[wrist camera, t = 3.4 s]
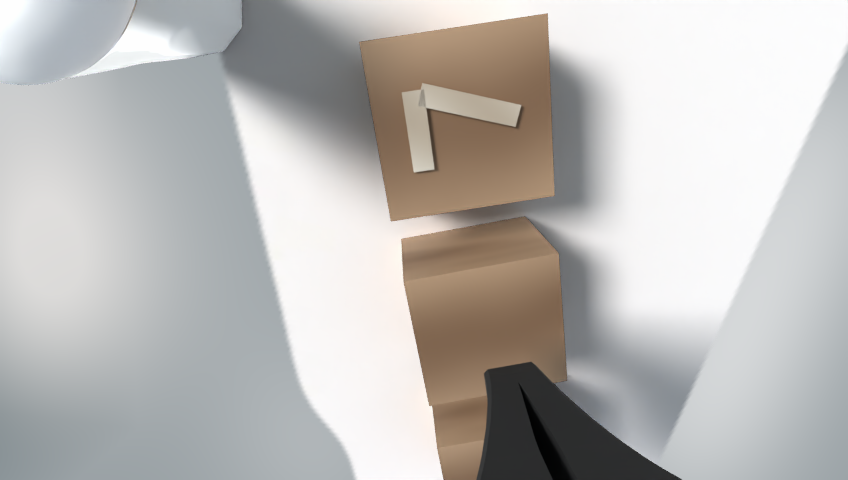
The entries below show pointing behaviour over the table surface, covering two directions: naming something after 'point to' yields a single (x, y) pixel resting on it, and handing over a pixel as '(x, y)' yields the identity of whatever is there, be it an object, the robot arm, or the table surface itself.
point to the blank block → (483, 305)
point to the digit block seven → (462, 116)
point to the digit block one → (460, 436)
